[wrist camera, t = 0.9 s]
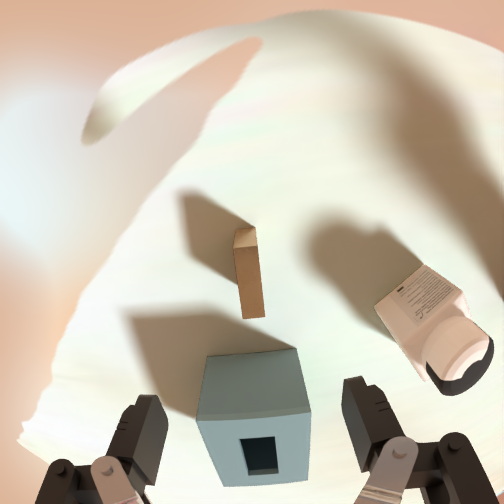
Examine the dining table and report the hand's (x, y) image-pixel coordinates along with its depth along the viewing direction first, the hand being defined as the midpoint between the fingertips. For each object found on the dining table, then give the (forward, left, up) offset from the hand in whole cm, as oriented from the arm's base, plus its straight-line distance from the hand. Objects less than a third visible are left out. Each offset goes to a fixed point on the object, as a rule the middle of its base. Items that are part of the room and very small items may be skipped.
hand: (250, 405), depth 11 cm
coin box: (+1, +18, -18) cm, 25 cm away
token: (0, 0, -18) cm, 18 cm away
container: (-18, +8, -18) cm, 27 cm away
